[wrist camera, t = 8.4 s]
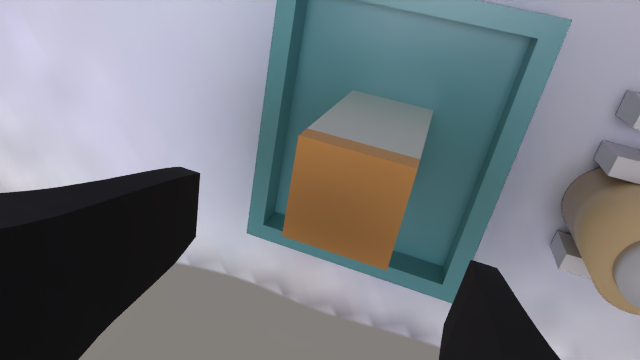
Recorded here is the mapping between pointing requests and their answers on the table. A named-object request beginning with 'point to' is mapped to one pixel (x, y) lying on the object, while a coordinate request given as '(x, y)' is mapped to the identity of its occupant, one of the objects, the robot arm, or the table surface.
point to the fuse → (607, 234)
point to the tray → (415, 89)
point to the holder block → (615, 163)
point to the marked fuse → (356, 177)
